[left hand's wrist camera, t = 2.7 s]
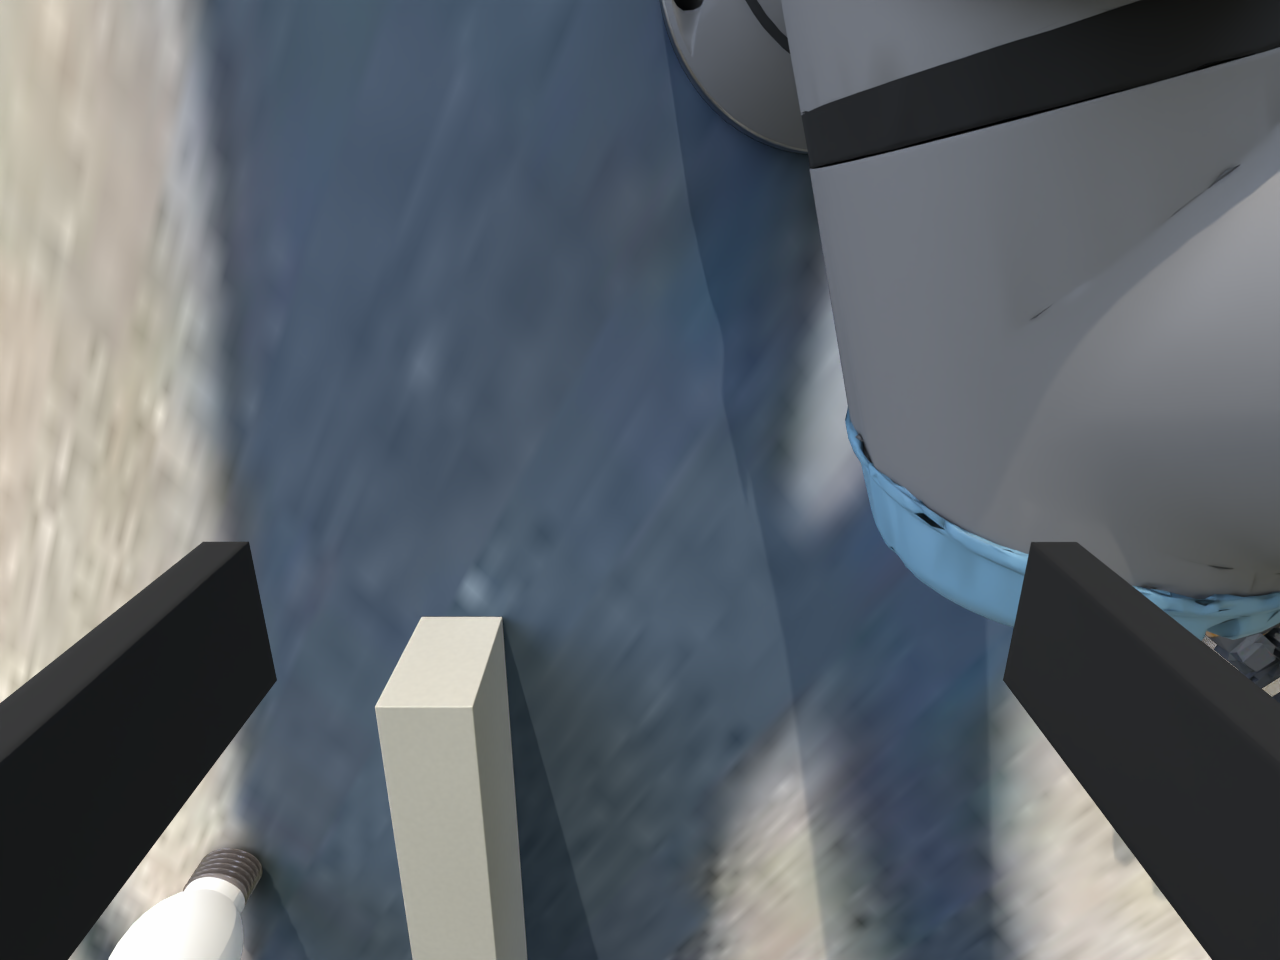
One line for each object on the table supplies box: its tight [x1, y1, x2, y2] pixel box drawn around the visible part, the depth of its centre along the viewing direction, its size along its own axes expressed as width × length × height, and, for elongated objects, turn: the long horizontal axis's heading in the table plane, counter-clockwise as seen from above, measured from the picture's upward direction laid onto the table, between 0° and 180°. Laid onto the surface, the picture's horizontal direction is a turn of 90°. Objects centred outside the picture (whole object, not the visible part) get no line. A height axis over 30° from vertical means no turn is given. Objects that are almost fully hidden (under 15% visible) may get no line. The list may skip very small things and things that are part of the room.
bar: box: [375, 617, 527, 960], centre depth 46 cm, size 35×5×8 cm, turn 0°
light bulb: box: [109, 848, 262, 960], centre depth 45 cm, size 7×7×11 cm
